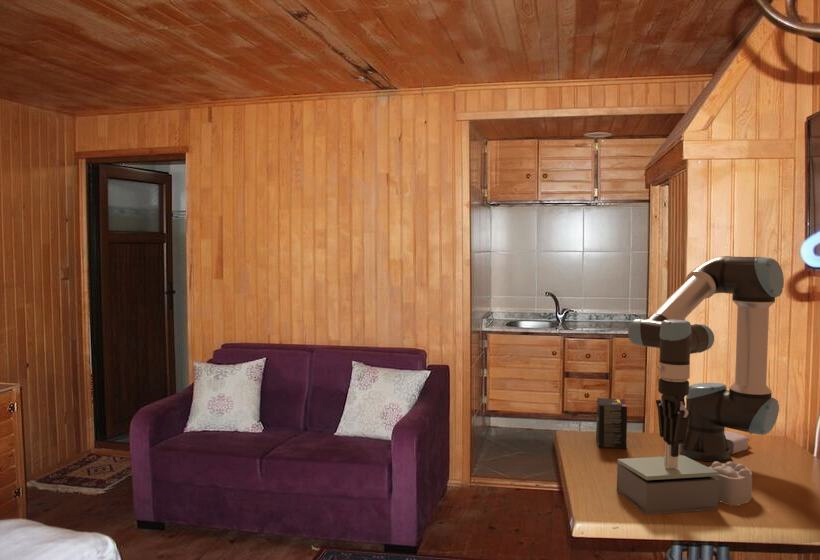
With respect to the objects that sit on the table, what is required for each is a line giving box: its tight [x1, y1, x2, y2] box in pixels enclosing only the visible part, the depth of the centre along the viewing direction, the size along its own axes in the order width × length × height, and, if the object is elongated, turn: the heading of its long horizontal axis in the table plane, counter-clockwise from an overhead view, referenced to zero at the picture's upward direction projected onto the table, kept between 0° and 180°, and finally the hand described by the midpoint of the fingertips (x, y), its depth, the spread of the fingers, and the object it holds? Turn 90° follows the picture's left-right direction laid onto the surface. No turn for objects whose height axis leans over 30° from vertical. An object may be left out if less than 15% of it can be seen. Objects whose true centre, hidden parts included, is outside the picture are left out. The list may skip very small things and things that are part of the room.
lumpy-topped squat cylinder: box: [708, 461, 753, 506], centre depth 184 cm, size 10×13×9 cm
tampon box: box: [595, 397, 628, 450], centre depth 229 cm, size 11×9×15 cm
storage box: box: [616, 463, 719, 516], centre depth 180 cm, size 20×16×8 cm
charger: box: [724, 430, 750, 455], centre depth 226 cm, size 5×9×15 cm
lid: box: [616, 454, 718, 480], centre depth 180 cm, size 20×16×1 cm
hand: (670, 467), depth 177 cm, fingers closed
